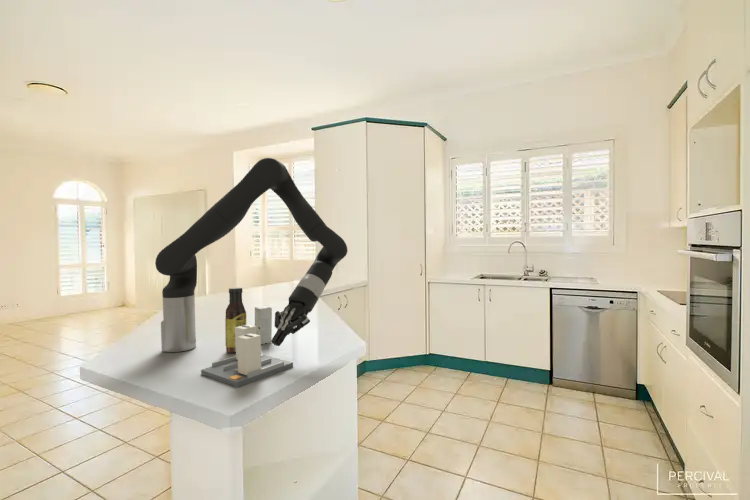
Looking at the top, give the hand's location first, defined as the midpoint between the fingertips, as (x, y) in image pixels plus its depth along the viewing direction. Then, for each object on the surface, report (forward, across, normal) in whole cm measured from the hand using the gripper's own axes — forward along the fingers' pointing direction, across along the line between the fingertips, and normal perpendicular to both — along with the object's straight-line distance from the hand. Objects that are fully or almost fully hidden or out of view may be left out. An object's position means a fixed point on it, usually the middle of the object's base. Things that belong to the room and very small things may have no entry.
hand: (275, 344), depth 99 cm
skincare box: (-6, -26, +16) cm, 31 cm away
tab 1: (+5, -10, +2) cm, 12 cm away
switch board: (+8, -5, +1) cm, 10 cm away
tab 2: (+9, 0, -2) cm, 9 cm away
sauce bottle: (+2, -24, +8) cm, 26 cm away
